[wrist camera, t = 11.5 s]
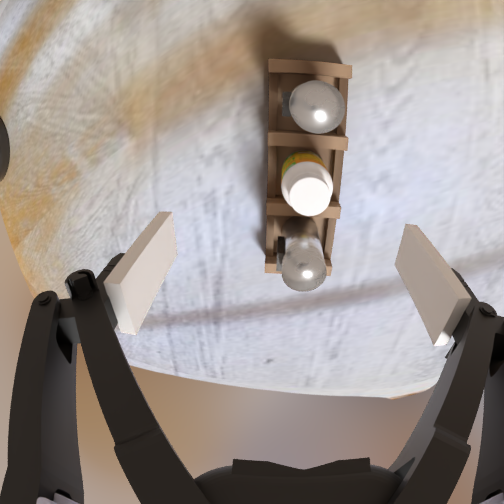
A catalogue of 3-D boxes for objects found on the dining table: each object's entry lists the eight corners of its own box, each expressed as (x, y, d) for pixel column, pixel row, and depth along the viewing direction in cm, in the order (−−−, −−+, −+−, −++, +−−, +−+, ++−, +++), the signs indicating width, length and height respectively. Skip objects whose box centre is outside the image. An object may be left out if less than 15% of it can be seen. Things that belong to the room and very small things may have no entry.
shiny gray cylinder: (281, 120, 32) (282, 131, 24) (282, 82, 30) (283, 78, 21) (326, 123, 32) (343, 135, 24) (328, 85, 30) (346, 83, 21)
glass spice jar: (277, 245, 41) (275, 290, 33) (278, 213, 39) (277, 252, 30) (315, 247, 41) (323, 292, 32) (319, 215, 38) (329, 255, 30)
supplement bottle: (288, 144, 34) (290, 162, 26) (330, 156, 34) (345, 179, 26) (276, 184, 37) (274, 214, 28) (317, 195, 37) (327, 229, 29)
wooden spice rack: (266, 257, 44) (264, 272, 40) (269, 62, 30) (268, 58, 26) (327, 260, 43) (330, 275, 39) (344, 68, 29) (352, 65, 26)
